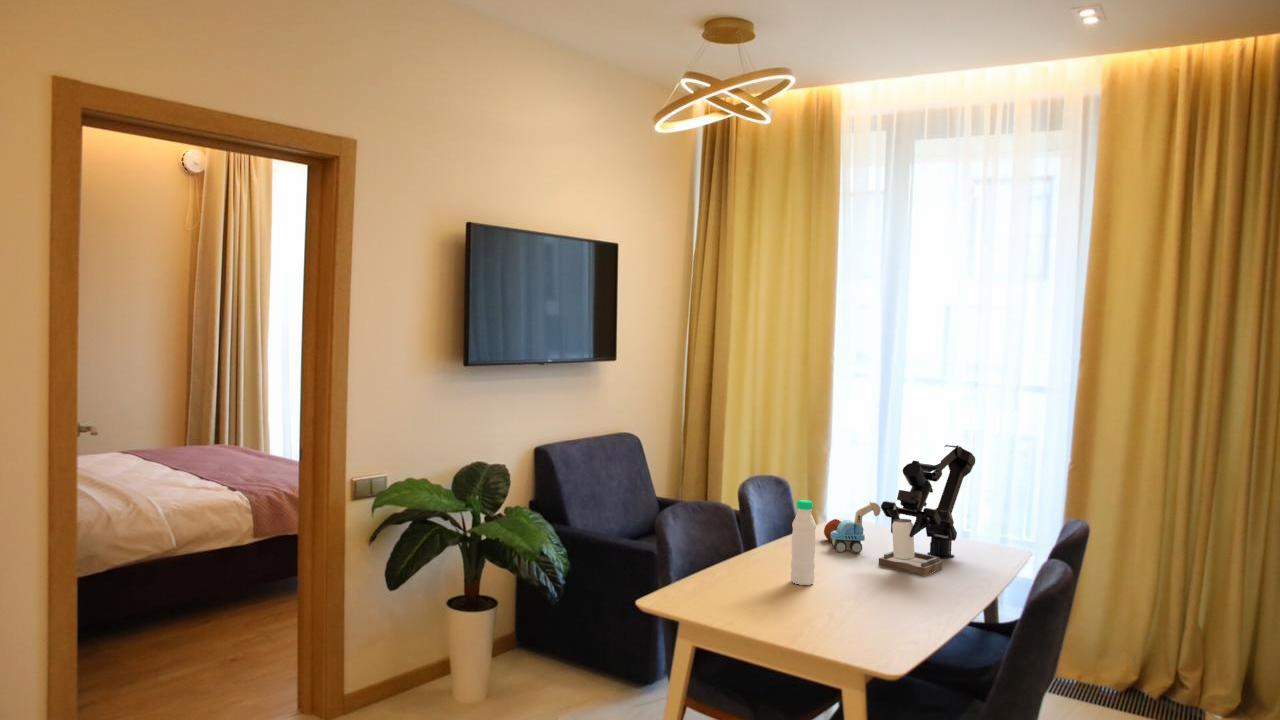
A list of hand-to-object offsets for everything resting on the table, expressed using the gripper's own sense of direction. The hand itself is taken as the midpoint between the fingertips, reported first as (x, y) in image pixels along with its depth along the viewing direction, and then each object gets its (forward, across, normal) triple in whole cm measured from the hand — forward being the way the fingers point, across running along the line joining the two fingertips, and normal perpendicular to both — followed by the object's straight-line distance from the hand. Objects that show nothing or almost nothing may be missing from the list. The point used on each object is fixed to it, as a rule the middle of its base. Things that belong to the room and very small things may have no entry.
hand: (901, 534), depth 290 cm
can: (+5, +1, +6) cm, 8 cm away
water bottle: (+32, -14, -17) cm, 39 cm away
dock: (+4, 0, +13) cm, 14 cm away
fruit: (-4, -35, +22) cm, 42 cm away
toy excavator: (0, -24, +18) cm, 30 cm away
